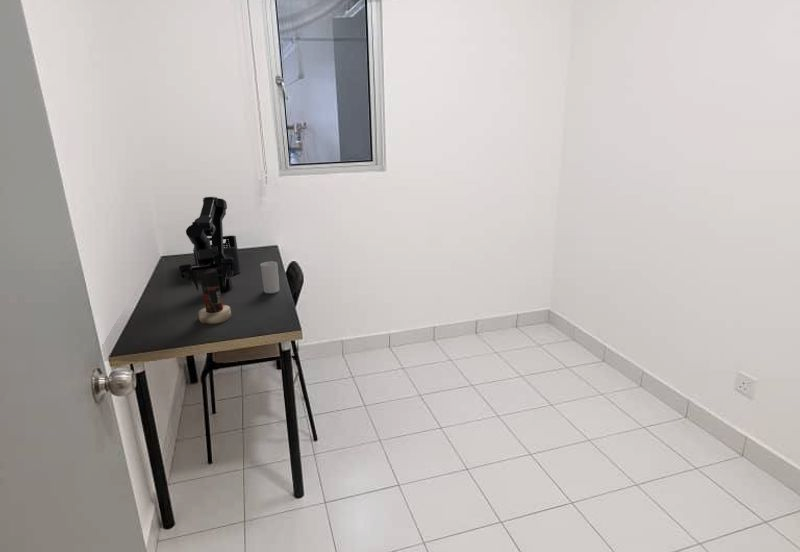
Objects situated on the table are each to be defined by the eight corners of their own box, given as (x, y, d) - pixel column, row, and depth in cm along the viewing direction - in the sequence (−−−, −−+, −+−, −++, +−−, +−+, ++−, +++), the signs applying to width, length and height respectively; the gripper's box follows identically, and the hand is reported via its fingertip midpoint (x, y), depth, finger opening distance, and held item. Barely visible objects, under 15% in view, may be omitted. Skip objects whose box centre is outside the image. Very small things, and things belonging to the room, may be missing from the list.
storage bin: (199, 263, 251) (195, 238, 247) (239, 259, 257) (235, 234, 253) (197, 279, 225) (192, 251, 221) (241, 274, 231) (237, 247, 227)
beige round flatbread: (194, 323, 176) (193, 316, 175) (207, 312, 187) (206, 304, 186) (224, 323, 175) (223, 316, 174) (235, 312, 186) (234, 304, 185)
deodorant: (209, 307, 183) (203, 268, 178) (225, 306, 183) (219, 268, 178) (203, 313, 178) (196, 273, 173) (219, 312, 177) (213, 273, 173)
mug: (279, 293, 205) (276, 265, 201) (262, 294, 204) (259, 266, 200) (281, 285, 214) (278, 258, 211) (265, 286, 213) (262, 259, 210)
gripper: (174, 242, 172) (181, 281, 166) (230, 236, 179) (238, 273, 173) (177, 259, 181) (183, 296, 175) (229, 252, 188) (238, 287, 182)
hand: (211, 288), depth 176 cm, fingers open, 9 cm apart
